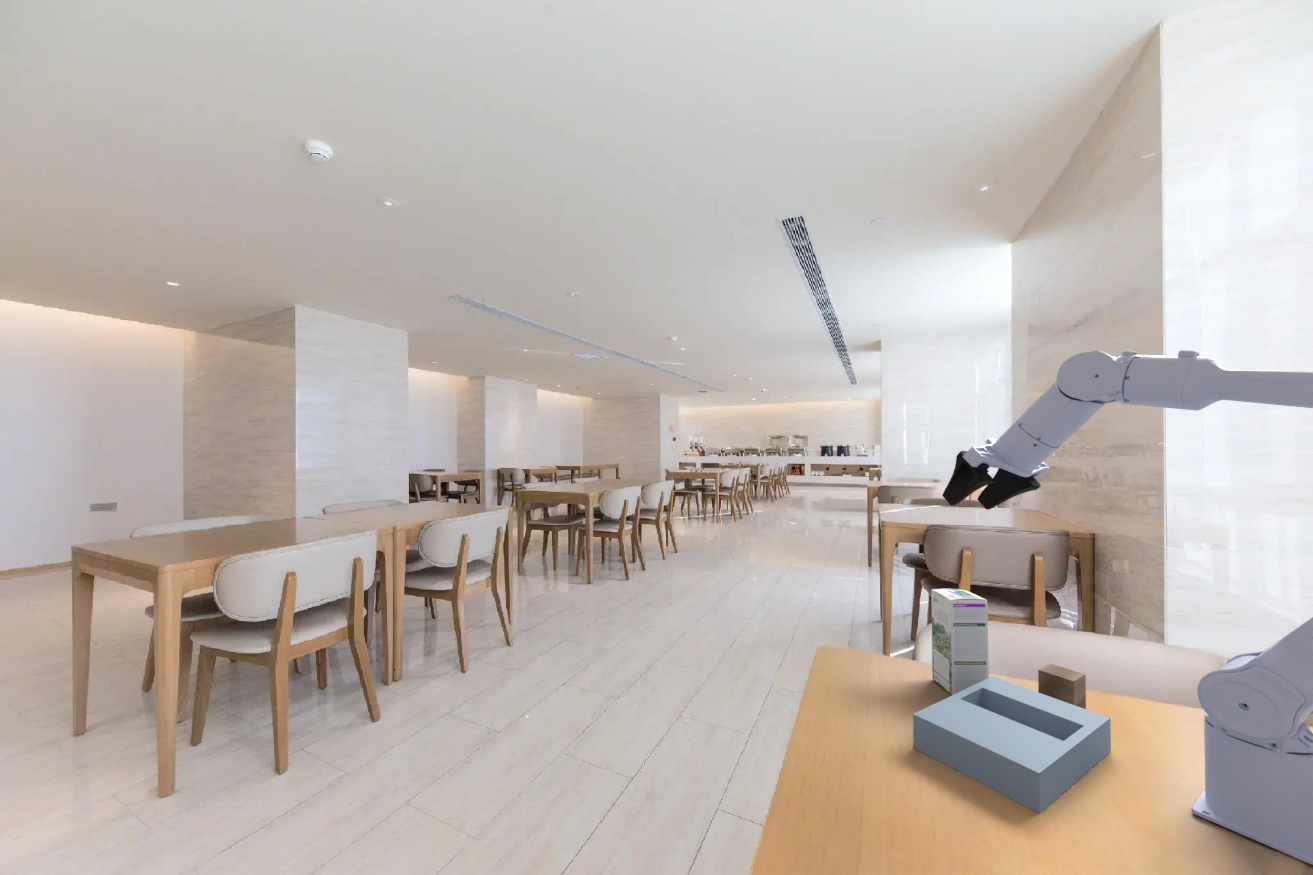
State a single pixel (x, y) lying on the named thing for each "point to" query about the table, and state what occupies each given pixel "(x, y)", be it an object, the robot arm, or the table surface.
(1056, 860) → the table surface
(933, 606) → the syrup box
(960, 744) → the well stand
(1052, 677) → the walnut block
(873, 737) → the table surface
